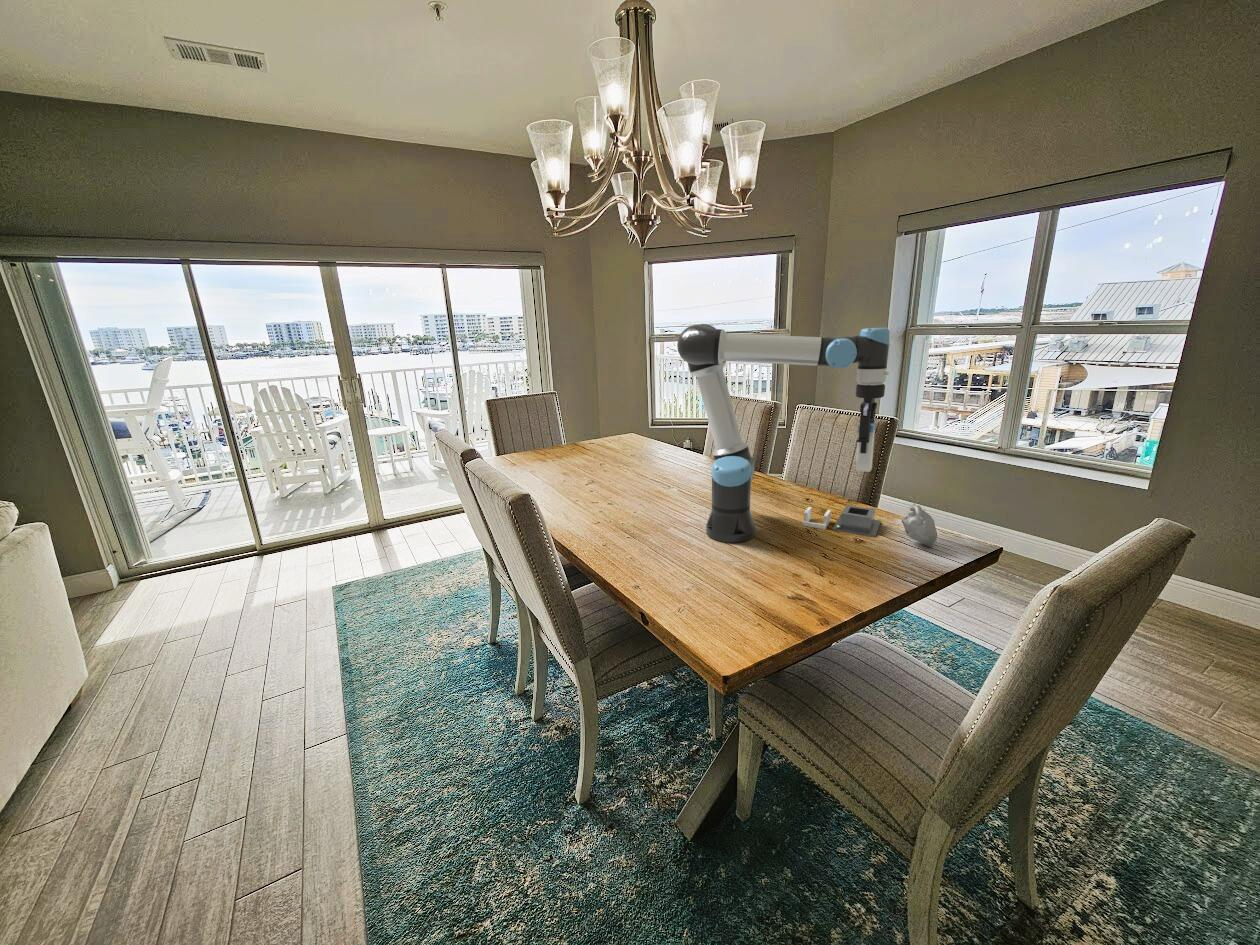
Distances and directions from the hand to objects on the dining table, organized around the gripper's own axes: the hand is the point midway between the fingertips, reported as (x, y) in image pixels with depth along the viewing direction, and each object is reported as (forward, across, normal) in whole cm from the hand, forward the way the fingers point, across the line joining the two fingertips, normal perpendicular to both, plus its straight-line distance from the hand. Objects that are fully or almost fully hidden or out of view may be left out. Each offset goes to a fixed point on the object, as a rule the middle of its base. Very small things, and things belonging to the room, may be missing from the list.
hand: (863, 461), depth 145 cm
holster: (+21, -3, +12) cm, 24 cm away
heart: (+22, -7, -17) cm, 29 cm away
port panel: (+21, 0, 0) cm, 21 cm away
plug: (+3, 0, 0) cm, 3 cm away
